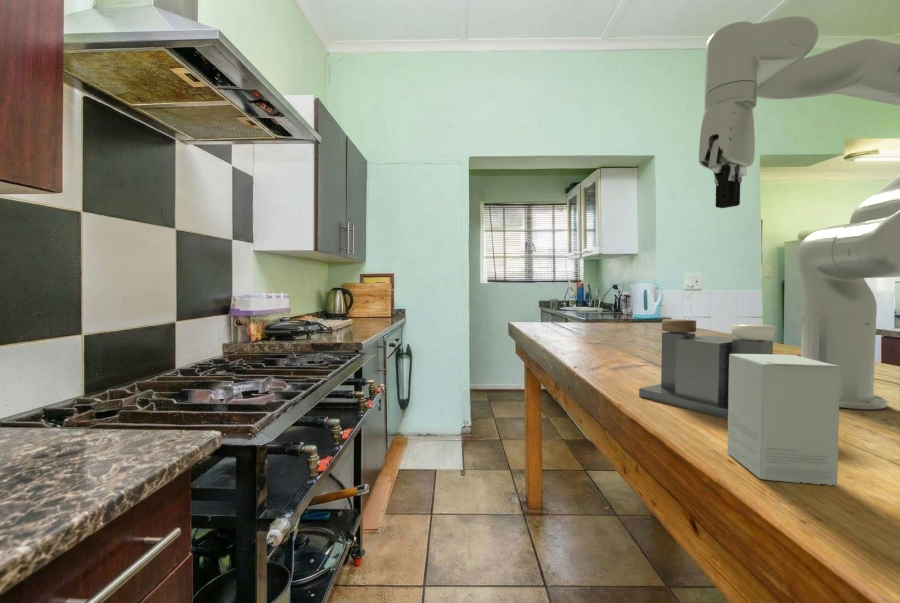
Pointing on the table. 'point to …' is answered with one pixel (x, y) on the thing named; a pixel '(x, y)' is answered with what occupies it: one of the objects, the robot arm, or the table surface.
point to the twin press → (699, 371)
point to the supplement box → (784, 417)
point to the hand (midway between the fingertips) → (727, 206)
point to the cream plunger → (753, 332)
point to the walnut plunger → (678, 326)
